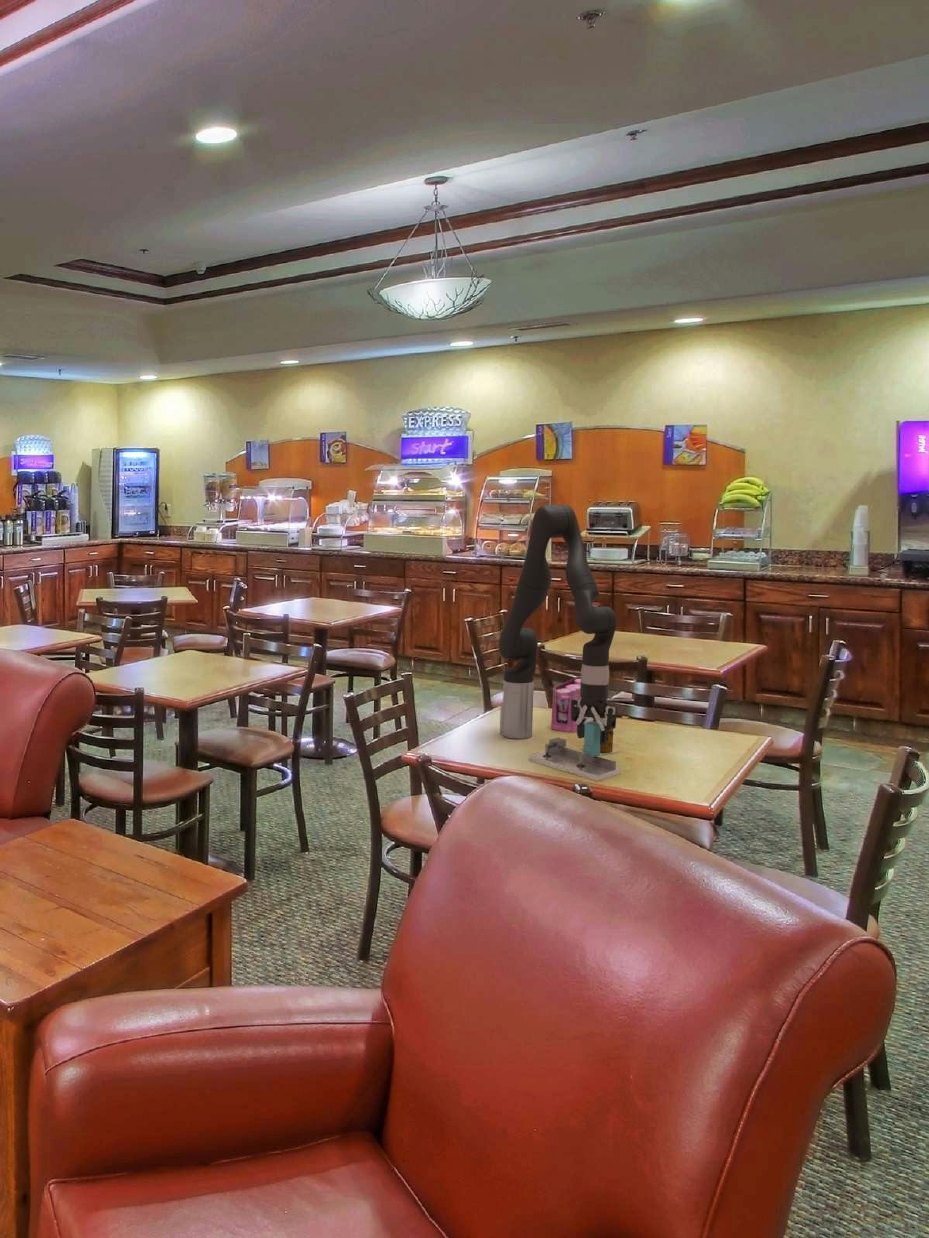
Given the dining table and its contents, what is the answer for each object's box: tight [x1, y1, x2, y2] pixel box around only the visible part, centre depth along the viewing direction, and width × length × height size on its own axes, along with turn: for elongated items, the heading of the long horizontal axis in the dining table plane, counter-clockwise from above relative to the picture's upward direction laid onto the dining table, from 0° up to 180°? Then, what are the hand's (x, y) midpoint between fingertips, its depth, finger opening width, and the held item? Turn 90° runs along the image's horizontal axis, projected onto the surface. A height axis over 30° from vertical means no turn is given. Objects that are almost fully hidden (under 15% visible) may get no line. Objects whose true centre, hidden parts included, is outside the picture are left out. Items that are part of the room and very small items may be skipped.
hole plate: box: [528, 736, 622, 782], centre depth 242 cm, size 24×10×6 cm, turn 44°
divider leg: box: [579, 721, 601, 765], centre depth 239 cm, size 3×7×11 cm, turn 134°
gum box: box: [550, 675, 593, 733], centre depth 288 cm, size 24×8×14 cm, turn 151°
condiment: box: [581, 711, 619, 756], centre depth 258 cm, size 7×8×12 cm
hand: (592, 740), depth 240 cm, fingers open, 7 cm apart
